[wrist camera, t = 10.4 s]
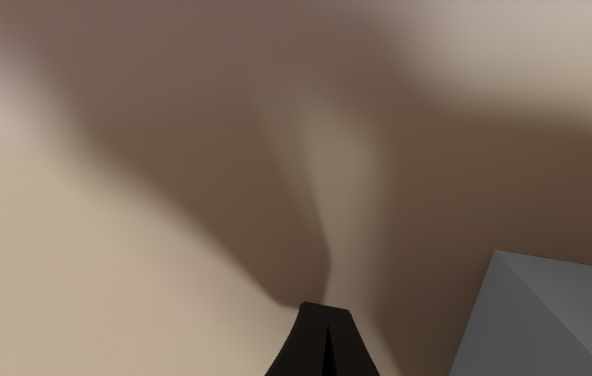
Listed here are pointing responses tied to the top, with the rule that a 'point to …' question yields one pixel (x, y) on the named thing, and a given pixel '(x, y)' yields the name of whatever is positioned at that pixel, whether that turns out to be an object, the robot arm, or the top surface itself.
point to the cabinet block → (529, 320)
